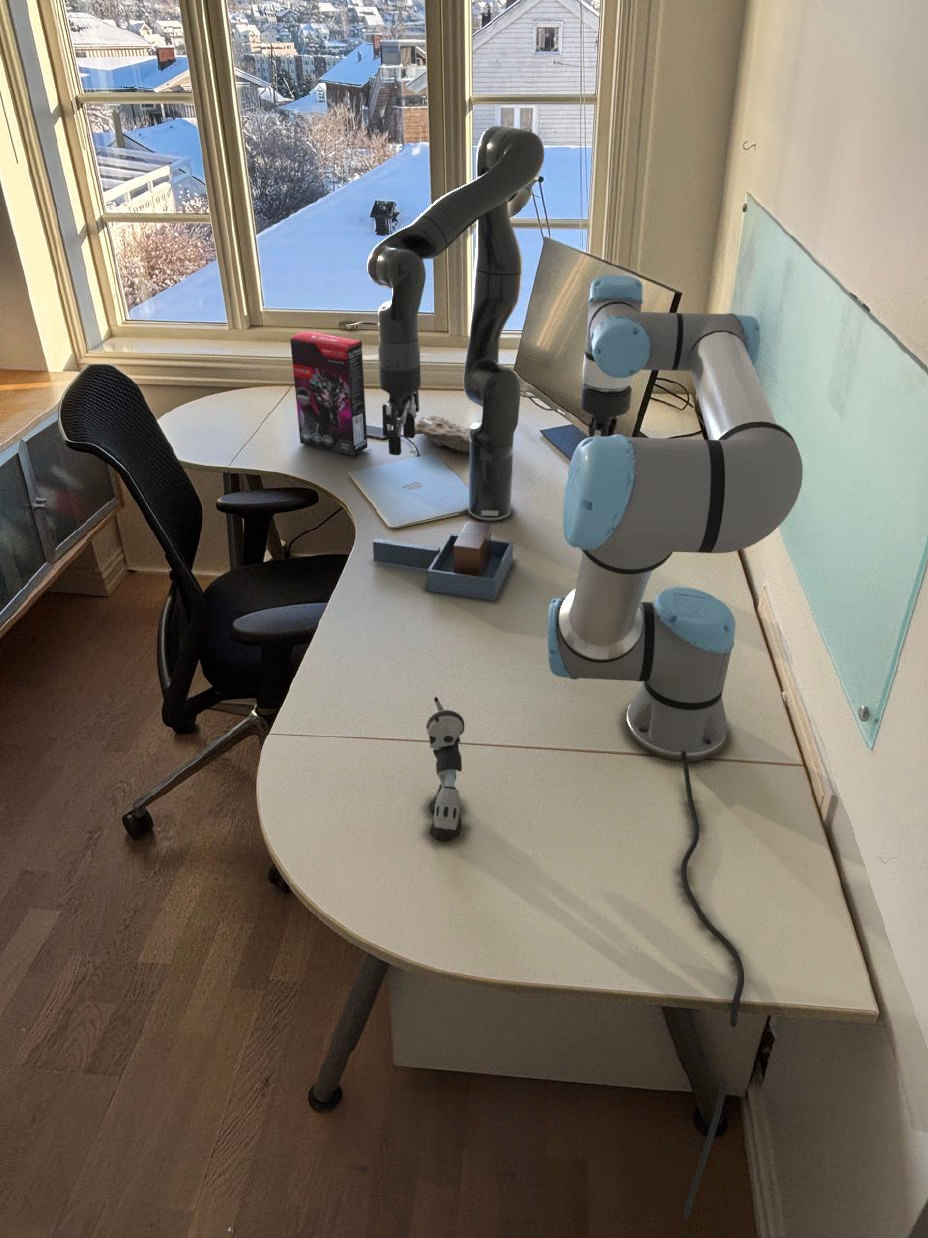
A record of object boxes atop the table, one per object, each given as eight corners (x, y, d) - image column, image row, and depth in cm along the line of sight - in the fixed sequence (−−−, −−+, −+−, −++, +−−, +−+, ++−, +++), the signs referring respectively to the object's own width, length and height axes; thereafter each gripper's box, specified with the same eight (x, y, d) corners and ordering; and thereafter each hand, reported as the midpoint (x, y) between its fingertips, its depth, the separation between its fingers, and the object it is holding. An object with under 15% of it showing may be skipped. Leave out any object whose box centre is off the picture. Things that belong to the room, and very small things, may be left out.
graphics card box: (297, 444, 233) (287, 336, 218) (313, 435, 239) (304, 329, 223) (354, 457, 227) (347, 347, 212) (369, 447, 232) (364, 339, 217)
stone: (397, 439, 228) (402, 416, 226) (416, 430, 242) (421, 408, 239) (477, 464, 225) (483, 440, 222) (491, 454, 238) (497, 431, 236)
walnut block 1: (485, 572, 180) (485, 536, 176) (460, 568, 181) (460, 533, 177) (490, 559, 184) (491, 524, 180) (466, 556, 185) (467, 521, 181)
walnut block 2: (478, 585, 176) (479, 548, 172) (453, 581, 177) (453, 545, 173) (484, 572, 180) (485, 536, 176) (460, 568, 181) (460, 533, 177)
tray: (494, 601, 174) (495, 578, 171) (361, 580, 179) (360, 558, 177) (512, 561, 186) (513, 540, 183) (387, 544, 192) (386, 522, 189)
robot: (467, 874, 119) (468, 759, 108) (429, 876, 119) (427, 760, 108) (460, 769, 135) (460, 659, 124) (426, 770, 135) (424, 660, 124)
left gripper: (406, 377, 161) (409, 462, 170) (430, 352, 172) (432, 433, 182) (366, 373, 163) (371, 458, 172) (392, 348, 174) (395, 429, 183)
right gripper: (621, 416, 128) (607, 549, 140) (641, 360, 148) (627, 481, 160) (568, 410, 130) (558, 542, 142) (594, 356, 150) (584, 475, 162)
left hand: (402, 445), depth 177 cm, fingers open, 8 cm apart
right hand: (594, 510), depth 151 cm, fingers open, 13 cm apart
